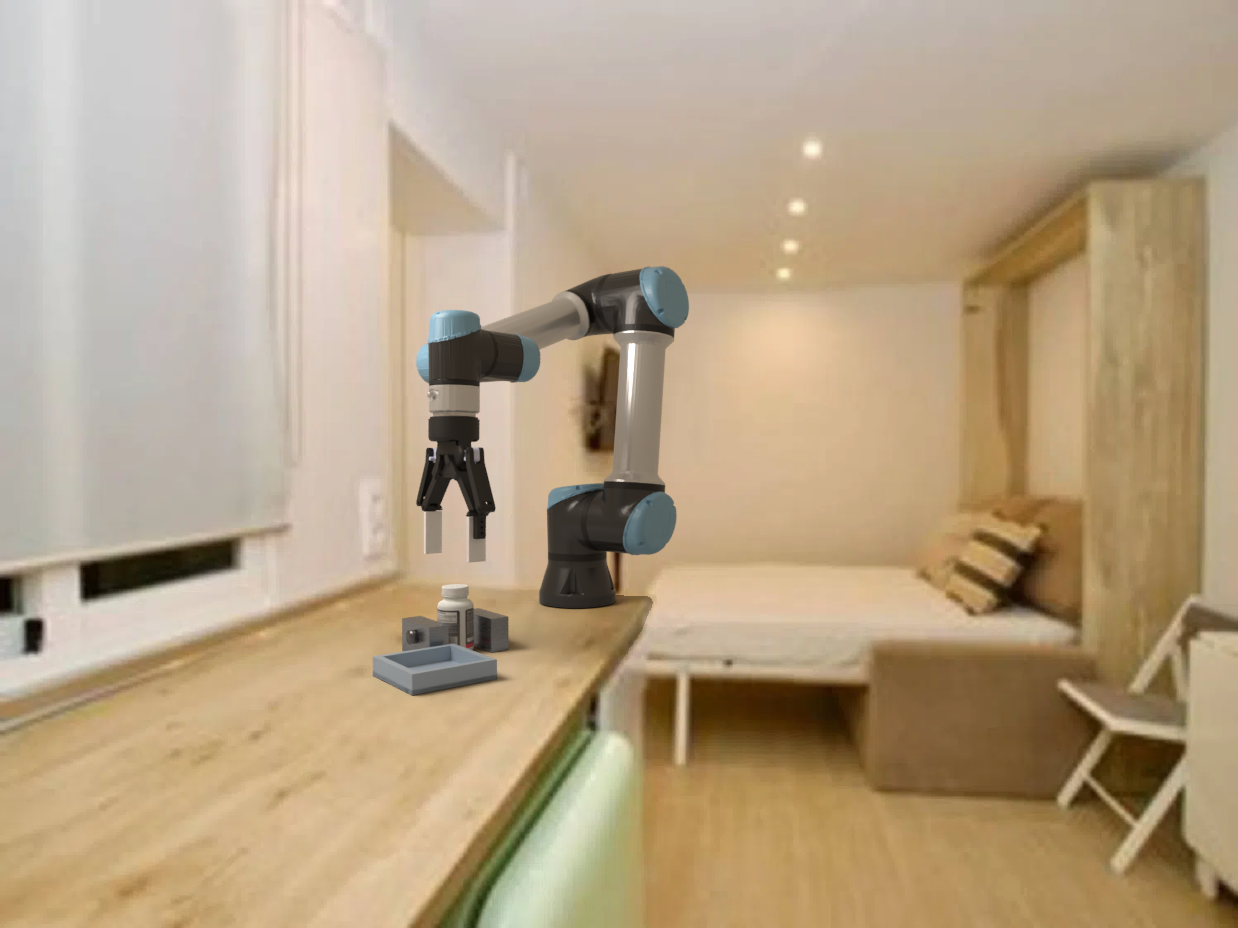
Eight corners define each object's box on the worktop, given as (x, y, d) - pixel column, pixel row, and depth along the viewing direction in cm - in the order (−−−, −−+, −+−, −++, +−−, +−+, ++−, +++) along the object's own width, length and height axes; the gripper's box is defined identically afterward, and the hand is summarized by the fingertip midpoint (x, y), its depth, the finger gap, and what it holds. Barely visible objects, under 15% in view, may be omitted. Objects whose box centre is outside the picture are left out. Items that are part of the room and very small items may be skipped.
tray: (453, 661, 124) (453, 643, 124) (497, 678, 114) (496, 659, 114) (372, 675, 116) (372, 656, 116) (412, 695, 107) (412, 674, 107)
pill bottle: (462, 644, 134) (462, 581, 134) (480, 651, 130) (480, 586, 130) (430, 650, 131) (430, 585, 131) (448, 656, 127) (447, 589, 127)
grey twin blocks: (484, 638, 139) (484, 607, 139) (514, 648, 132) (514, 615, 132) (395, 652, 129) (395, 618, 129) (423, 664, 122) (422, 628, 122)
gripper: (395, 417, 137) (394, 551, 137) (473, 411, 118) (472, 567, 118) (438, 418, 142) (437, 548, 142) (520, 413, 122) (519, 563, 123)
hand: (453, 557), depth 130 cm, fingers open, 13 cm apart
